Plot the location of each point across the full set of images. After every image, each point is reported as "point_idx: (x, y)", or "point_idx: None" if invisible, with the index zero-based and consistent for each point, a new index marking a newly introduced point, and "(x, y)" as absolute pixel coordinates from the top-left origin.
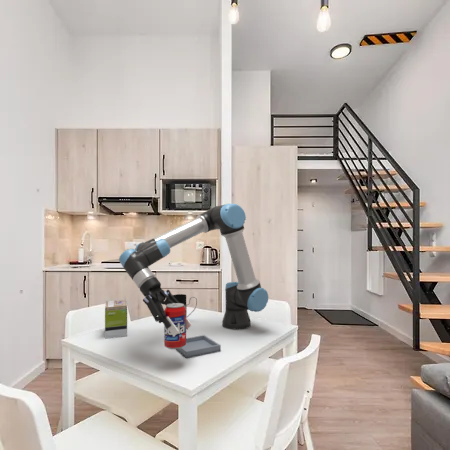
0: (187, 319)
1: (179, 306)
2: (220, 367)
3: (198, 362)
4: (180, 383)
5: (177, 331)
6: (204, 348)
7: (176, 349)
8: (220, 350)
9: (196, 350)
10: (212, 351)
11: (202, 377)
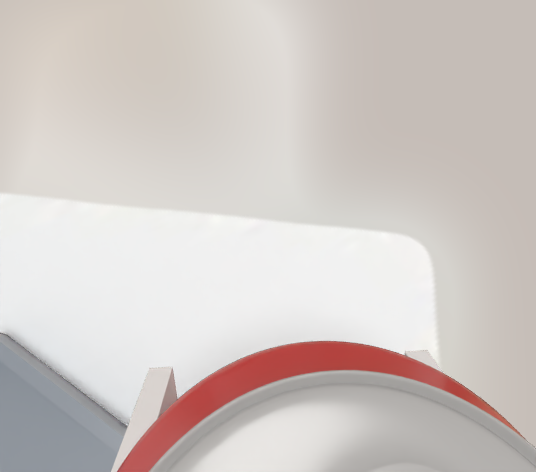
0: (141, 431)
1: (438, 402)
2: (205, 236)
3: (196, 359)
4: (426, 299)
5: (429, 358)
6: (63, 390)
7: None
8: (2, 333)
9: (108, 423)
10: (38, 362)
11: (328, 251)
